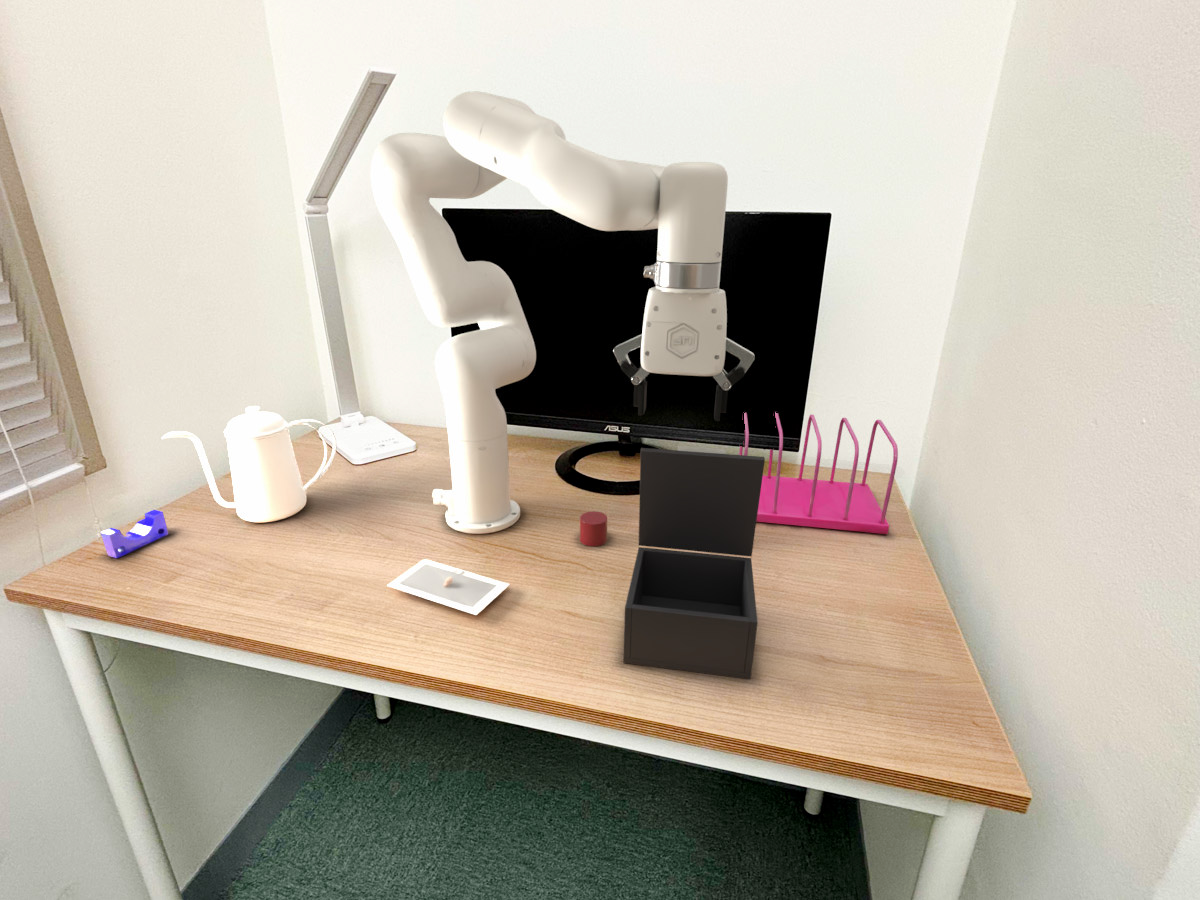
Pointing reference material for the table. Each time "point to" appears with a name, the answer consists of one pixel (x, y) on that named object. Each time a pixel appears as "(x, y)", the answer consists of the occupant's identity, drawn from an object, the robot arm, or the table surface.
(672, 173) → the robot arm
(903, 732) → the table surface
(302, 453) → the table surface
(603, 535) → the red cylinder
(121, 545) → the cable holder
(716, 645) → the dark grey box
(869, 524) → the file sorter
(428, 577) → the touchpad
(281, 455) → the coffeepot
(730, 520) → the lid
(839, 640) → the table surface
